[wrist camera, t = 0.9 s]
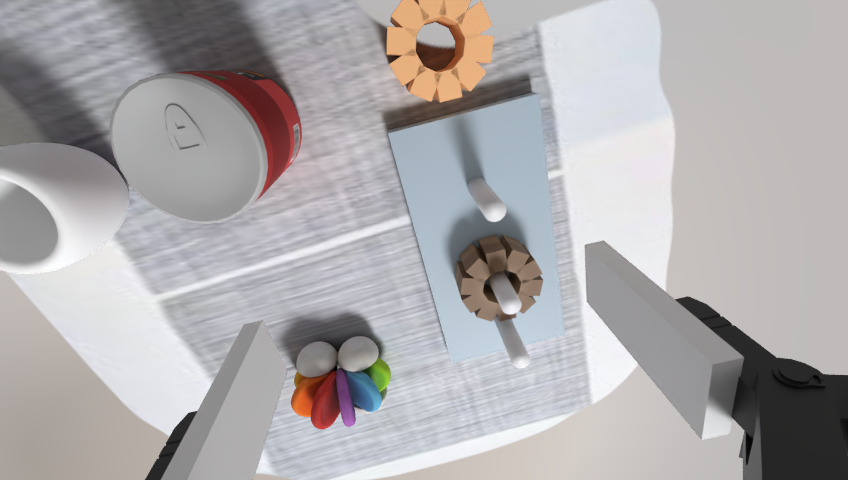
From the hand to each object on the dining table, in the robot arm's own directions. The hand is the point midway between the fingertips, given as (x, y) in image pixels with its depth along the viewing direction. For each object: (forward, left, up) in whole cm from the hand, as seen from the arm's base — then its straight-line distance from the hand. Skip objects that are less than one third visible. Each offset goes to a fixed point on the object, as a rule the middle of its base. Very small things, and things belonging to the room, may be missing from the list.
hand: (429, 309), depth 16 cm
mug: (-5, -26, -20) cm, 33 cm away
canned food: (-7, -10, -20) cm, 23 cm away
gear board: (+8, +6, -19) cm, 21 cm away
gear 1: (-9, +5, -19) cm, 22 cm away
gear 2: (+10, +6, -18) cm, 21 cm away
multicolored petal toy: (+18, -11, -20) cm, 29 cm away
